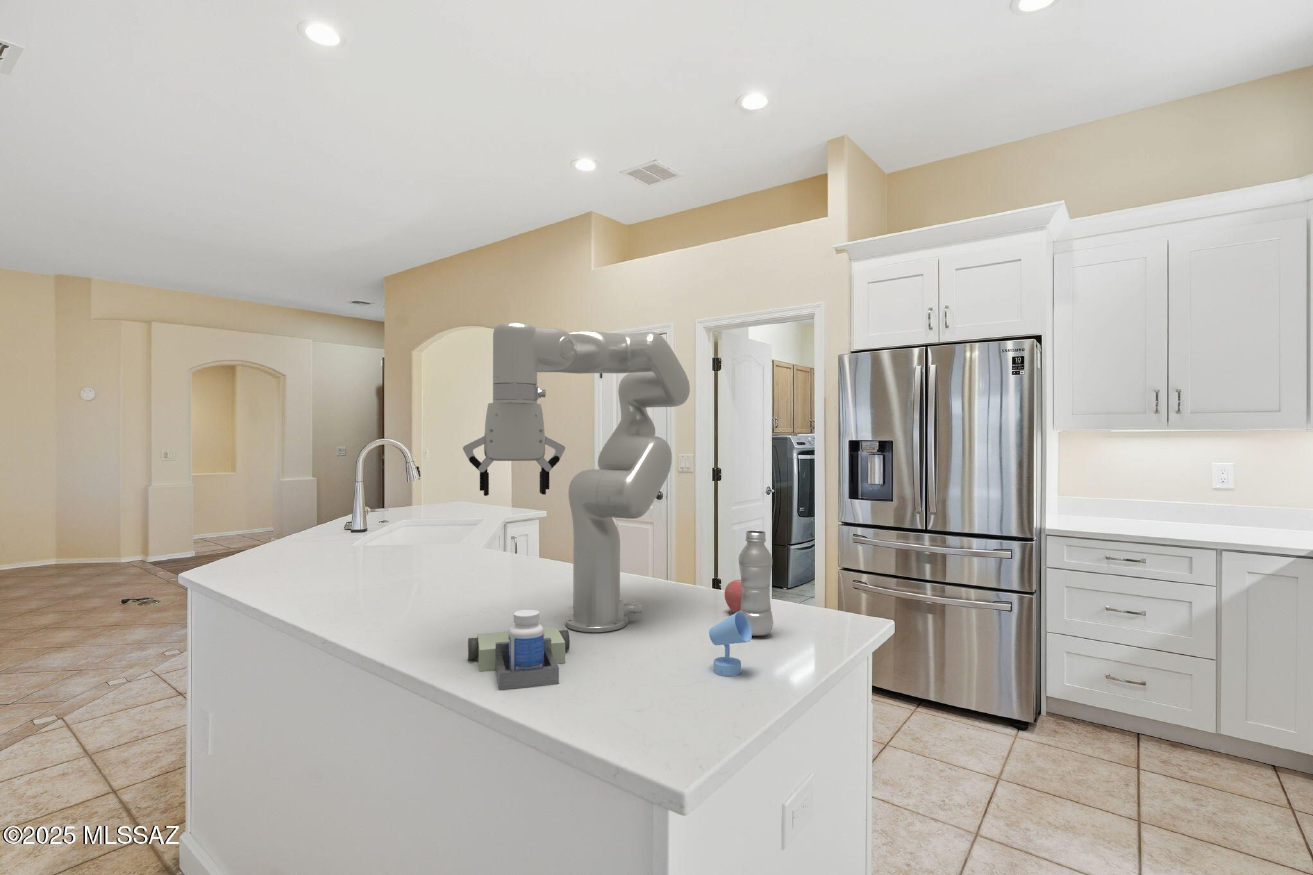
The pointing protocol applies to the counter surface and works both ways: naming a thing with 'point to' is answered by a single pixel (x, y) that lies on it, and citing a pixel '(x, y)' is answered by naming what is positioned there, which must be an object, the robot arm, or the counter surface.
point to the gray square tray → (524, 676)
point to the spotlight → (730, 642)
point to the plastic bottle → (756, 583)
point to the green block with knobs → (485, 643)
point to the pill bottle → (526, 641)
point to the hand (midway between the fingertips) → (514, 494)
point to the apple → (734, 595)
